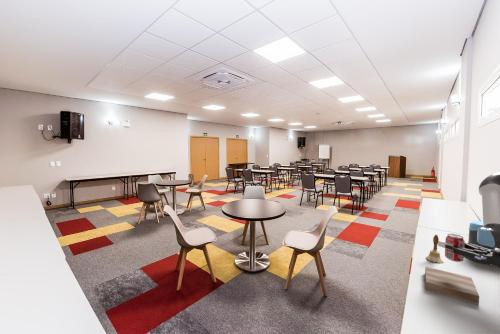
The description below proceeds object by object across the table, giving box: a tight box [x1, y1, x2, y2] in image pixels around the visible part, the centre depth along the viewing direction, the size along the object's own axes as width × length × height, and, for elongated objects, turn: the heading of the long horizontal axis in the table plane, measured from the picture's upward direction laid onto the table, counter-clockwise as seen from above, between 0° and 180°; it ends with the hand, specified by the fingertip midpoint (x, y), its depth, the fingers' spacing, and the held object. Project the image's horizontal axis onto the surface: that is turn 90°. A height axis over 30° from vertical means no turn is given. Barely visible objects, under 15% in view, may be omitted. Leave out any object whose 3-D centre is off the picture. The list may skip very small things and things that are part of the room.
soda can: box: [444, 233, 466, 263], centre depth 111 cm, size 7×7×12 cm
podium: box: [424, 266, 480, 306], centre depth 109 cm, size 18×18×4 cm
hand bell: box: [425, 234, 444, 264], centre depth 137 cm, size 8×8×16 cm
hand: (442, 242), depth 115 cm, fingers closed on soda can, 7 cm apart
